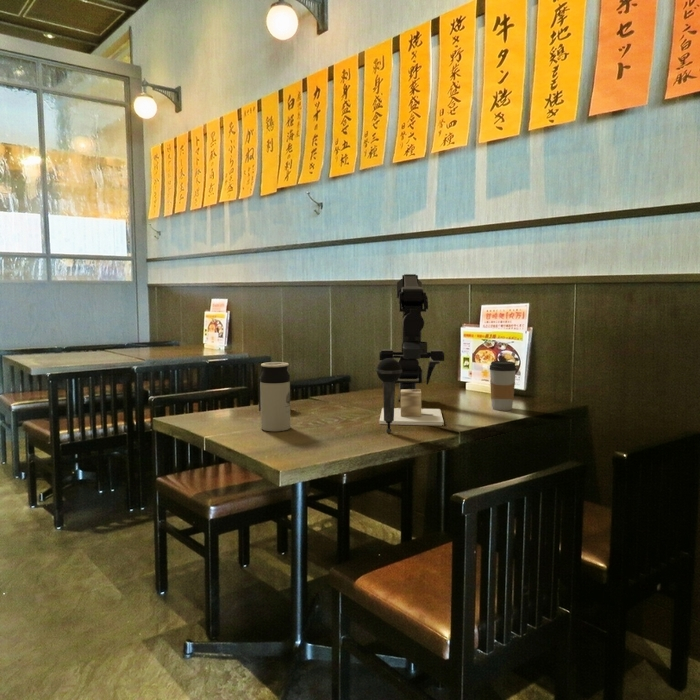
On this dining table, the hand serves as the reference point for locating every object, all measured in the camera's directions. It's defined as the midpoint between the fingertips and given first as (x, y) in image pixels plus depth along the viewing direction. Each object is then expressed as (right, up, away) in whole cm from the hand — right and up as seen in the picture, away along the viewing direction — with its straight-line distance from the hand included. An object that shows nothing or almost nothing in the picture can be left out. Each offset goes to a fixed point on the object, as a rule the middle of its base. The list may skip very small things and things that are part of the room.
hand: (411, 384), depth 169 cm
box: (-43, -9, +15) cm, 46 cm away
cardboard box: (0, -9, +1) cm, 9 cm away
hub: (0, -10, +1) cm, 10 cm away
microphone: (-8, -12, -17) cm, 22 cm away
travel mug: (-39, -12, -12) cm, 42 cm away
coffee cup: (+30, -9, +14) cm, 35 cm away
